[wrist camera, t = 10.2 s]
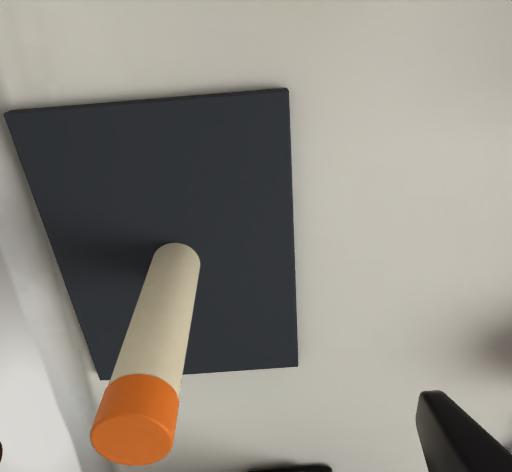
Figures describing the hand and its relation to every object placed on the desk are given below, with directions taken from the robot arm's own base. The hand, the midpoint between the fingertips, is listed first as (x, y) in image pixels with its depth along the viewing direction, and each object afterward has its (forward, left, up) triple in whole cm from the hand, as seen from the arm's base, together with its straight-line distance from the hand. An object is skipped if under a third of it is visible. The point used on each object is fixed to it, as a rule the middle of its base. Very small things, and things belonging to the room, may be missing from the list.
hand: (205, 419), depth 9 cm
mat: (-4, +3, -13) cm, 14 cm away
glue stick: (-4, +3, -12) cm, 13 cm away
